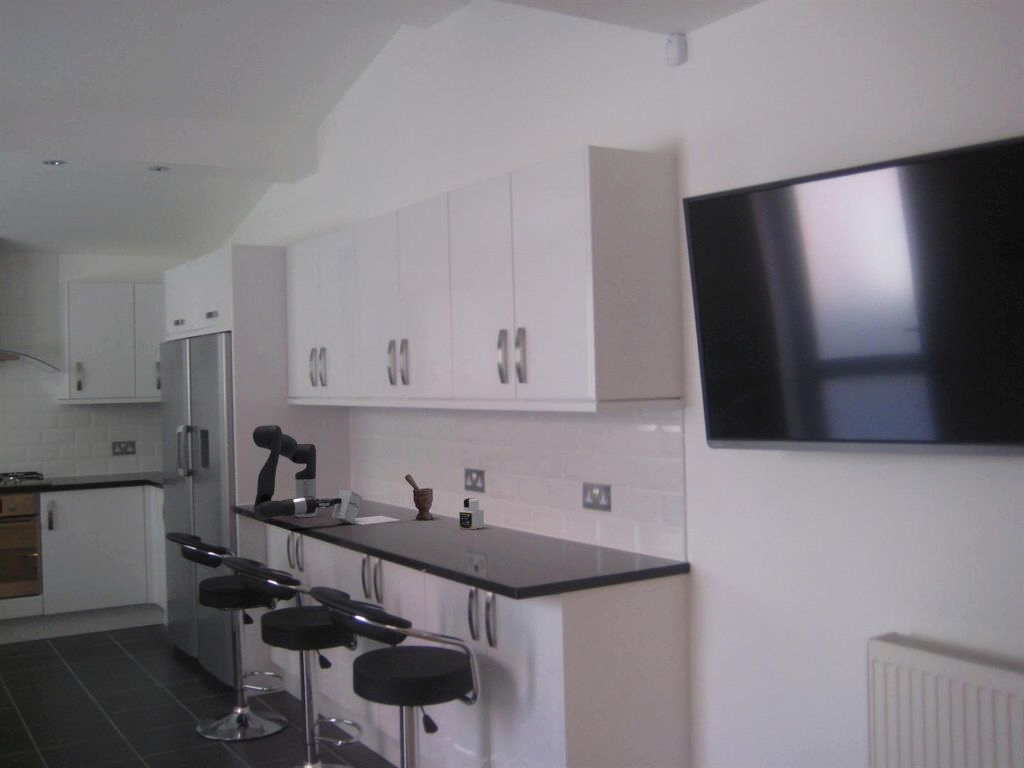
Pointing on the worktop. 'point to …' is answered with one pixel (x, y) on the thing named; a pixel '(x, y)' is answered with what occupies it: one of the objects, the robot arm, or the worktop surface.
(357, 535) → the worktop surface
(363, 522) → the mat
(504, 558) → the worktop surface
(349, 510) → the supplement box
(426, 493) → the mortar and pestle
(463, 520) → the medicine bottle
